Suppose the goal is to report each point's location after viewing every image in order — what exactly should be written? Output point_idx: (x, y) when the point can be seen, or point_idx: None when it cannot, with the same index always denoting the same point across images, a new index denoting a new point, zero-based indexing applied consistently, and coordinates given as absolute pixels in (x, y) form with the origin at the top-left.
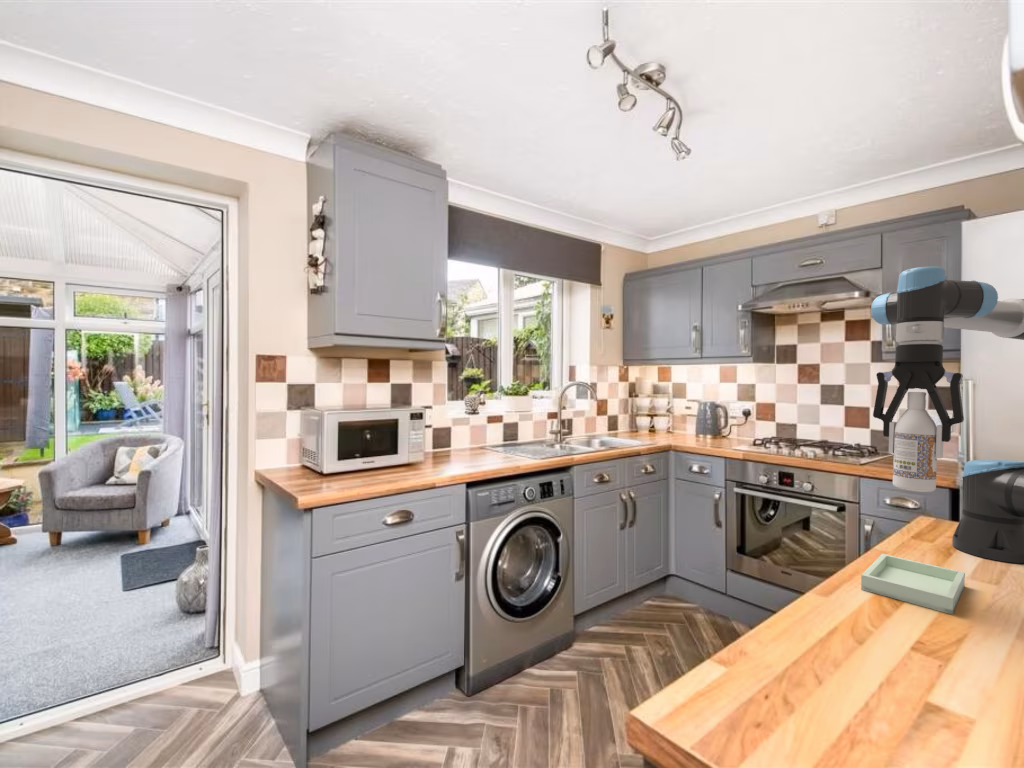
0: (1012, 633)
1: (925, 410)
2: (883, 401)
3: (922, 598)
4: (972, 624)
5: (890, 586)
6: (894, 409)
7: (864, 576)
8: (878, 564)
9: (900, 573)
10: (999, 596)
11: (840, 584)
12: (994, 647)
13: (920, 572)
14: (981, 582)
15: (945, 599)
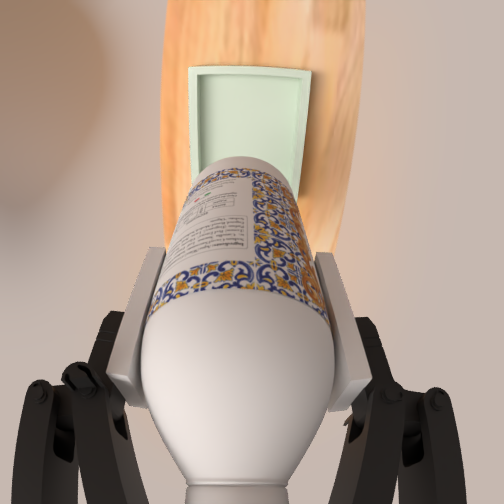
0: (342, 202)
1: (287, 480)
2: (62, 490)
3: None
4: (310, 206)
5: None
6: (136, 473)
7: None
8: (197, 134)
9: (224, 97)
10: (345, 81)
11: (172, 194)
12: (322, 246)
13: (249, 74)
14: (326, 32)
15: None
